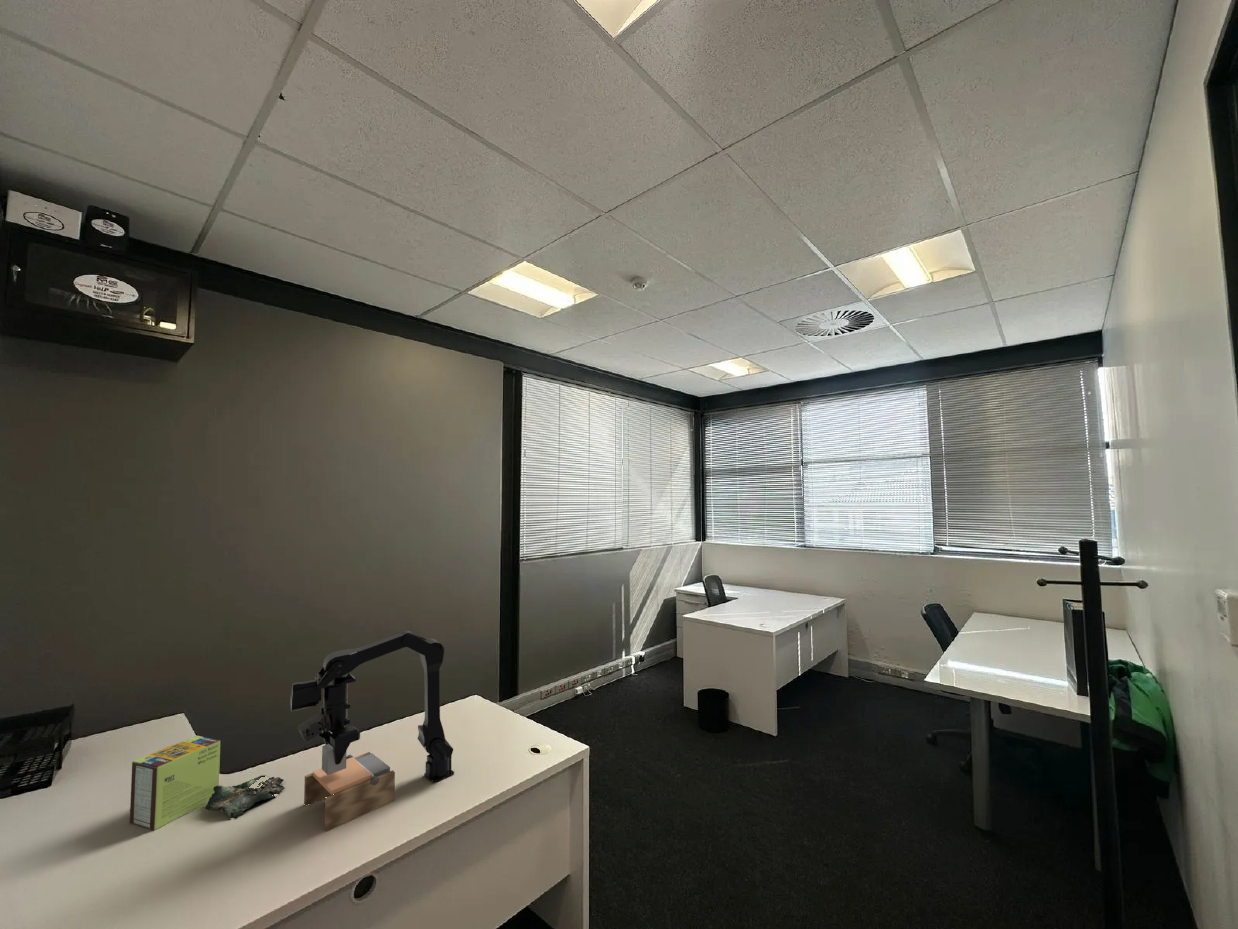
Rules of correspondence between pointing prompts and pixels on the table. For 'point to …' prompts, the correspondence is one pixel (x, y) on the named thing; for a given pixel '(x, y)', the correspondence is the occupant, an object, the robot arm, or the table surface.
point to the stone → (331, 760)
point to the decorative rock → (243, 796)
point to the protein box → (173, 781)
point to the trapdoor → (352, 773)
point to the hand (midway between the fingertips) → (334, 761)
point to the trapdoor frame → (351, 797)
